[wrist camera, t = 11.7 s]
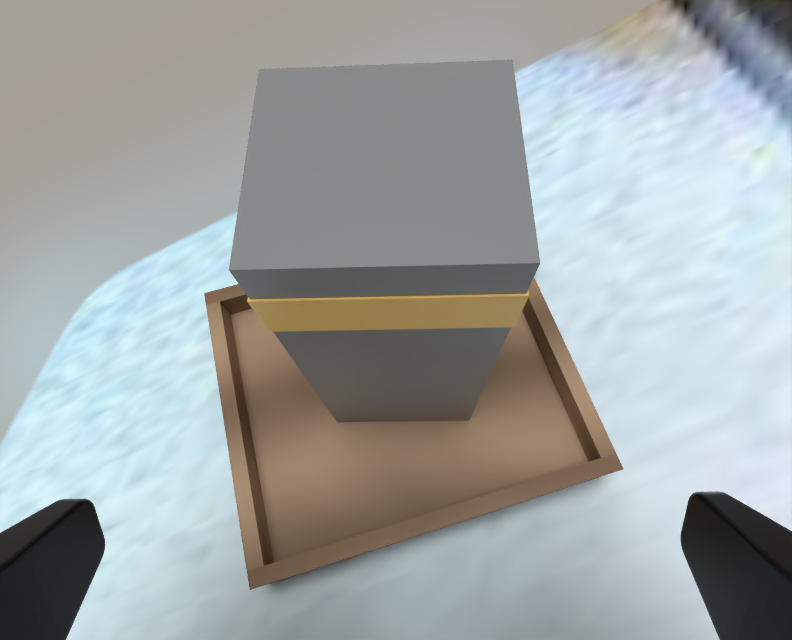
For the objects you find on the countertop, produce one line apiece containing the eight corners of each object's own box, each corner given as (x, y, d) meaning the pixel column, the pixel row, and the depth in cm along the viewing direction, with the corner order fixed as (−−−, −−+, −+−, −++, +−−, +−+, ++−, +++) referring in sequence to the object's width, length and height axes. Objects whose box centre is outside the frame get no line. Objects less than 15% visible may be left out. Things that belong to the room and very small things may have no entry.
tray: (601, 476, 20) (623, 468, 18) (268, 583, 19) (249, 590, 17) (495, 239, 25) (503, 211, 23) (223, 315, 24) (204, 293, 22)
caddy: (470, 421, 21) (543, 265, 9) (336, 423, 21) (225, 272, 9) (463, 309, 23) (514, 58, 11) (341, 312, 23) (256, 68, 11)
